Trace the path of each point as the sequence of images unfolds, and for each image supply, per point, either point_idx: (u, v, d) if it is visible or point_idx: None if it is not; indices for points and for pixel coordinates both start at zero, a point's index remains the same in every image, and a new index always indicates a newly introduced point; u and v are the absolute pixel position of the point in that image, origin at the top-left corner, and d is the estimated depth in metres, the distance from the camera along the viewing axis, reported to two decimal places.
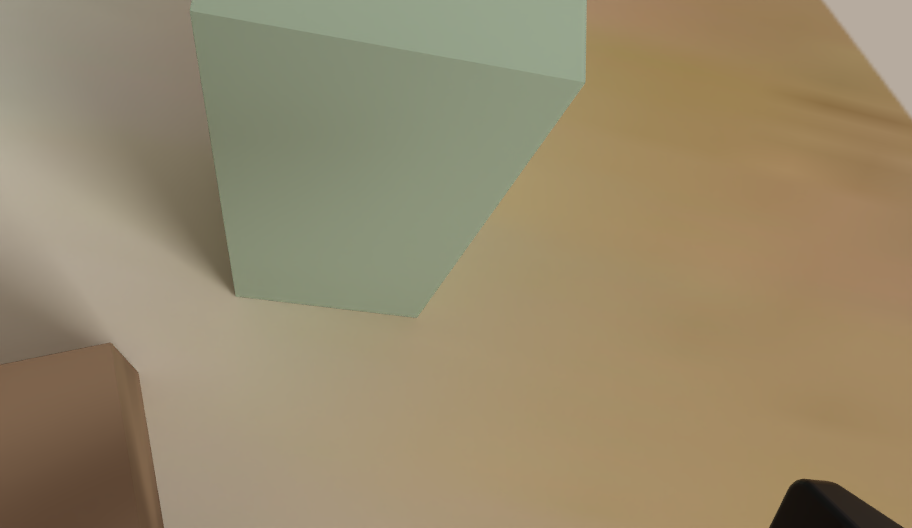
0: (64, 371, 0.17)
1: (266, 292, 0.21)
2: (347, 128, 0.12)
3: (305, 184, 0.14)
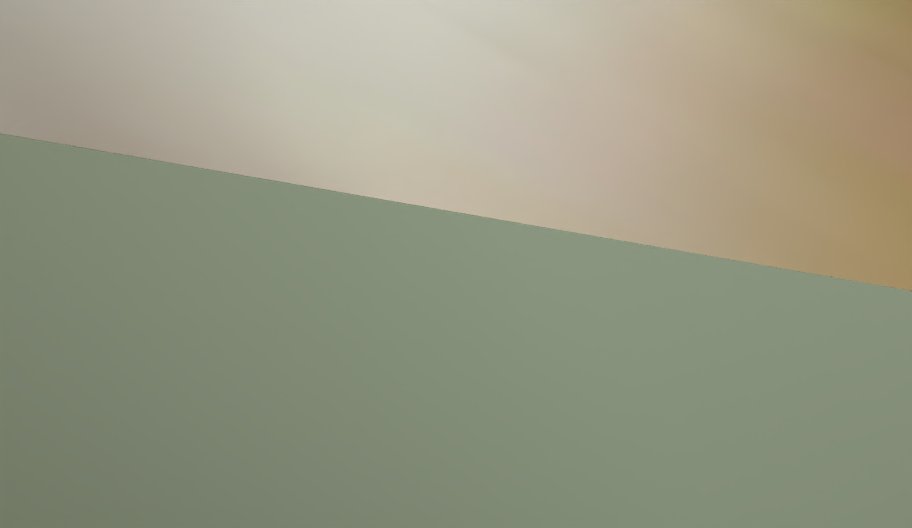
0: None
1: None
2: None
3: None
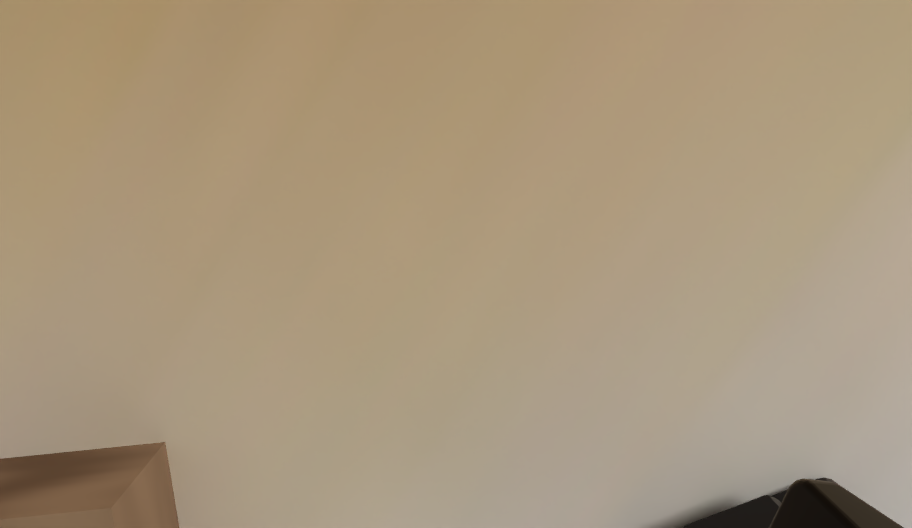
0: None
1: None
2: None
3: None
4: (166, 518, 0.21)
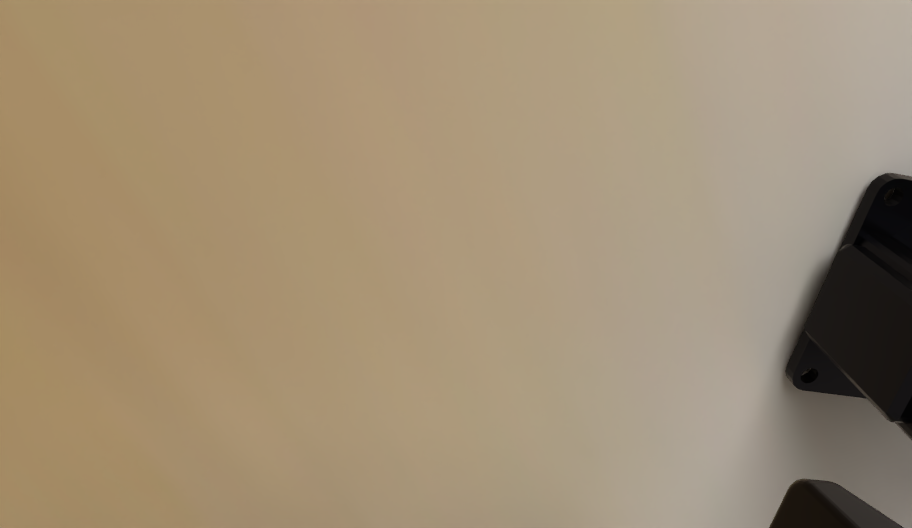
0: None
1: None
2: None
3: None
4: None
